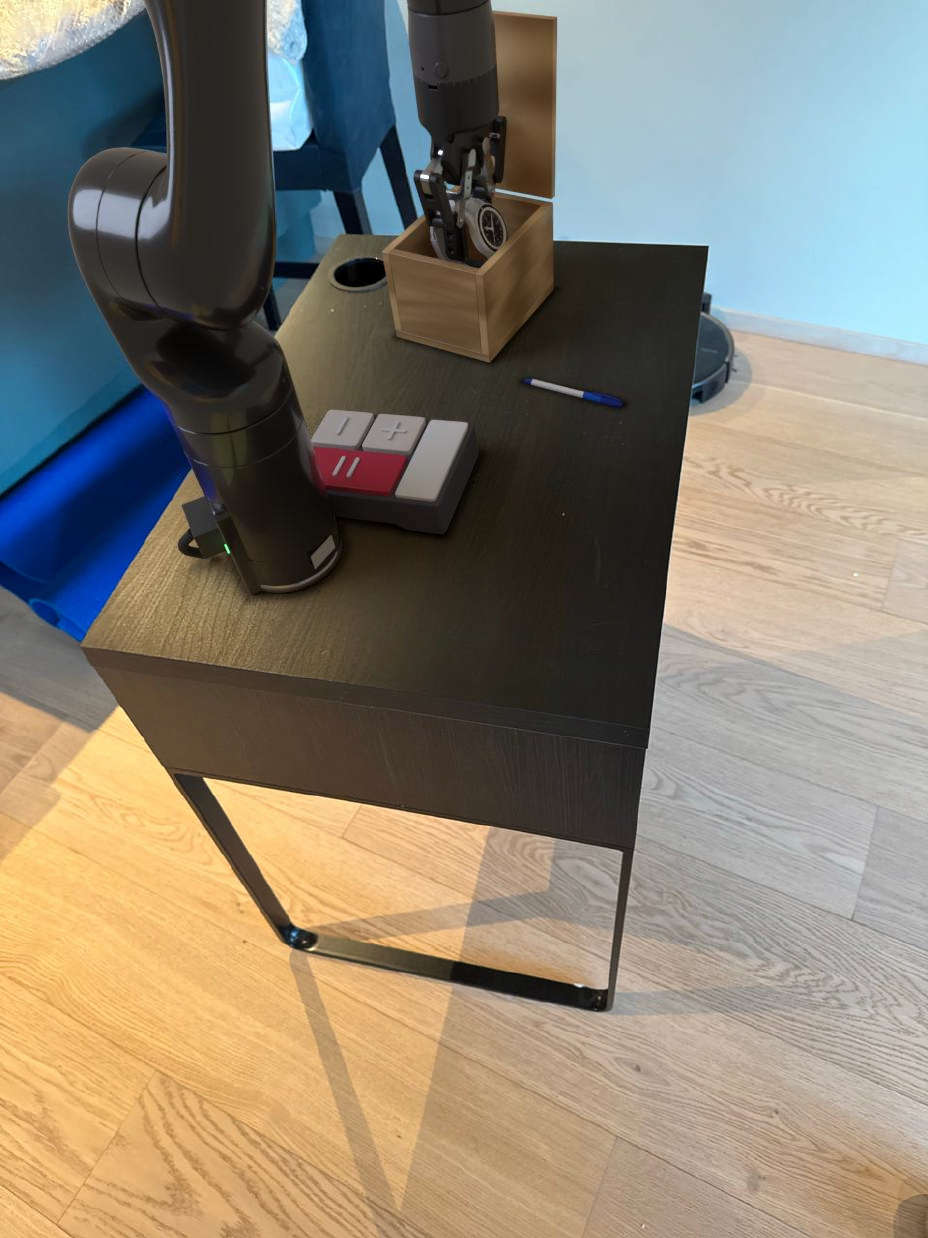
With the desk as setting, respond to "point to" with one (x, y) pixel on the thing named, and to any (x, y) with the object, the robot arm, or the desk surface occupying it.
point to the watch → (476, 231)
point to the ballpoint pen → (578, 393)
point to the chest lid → (527, 100)
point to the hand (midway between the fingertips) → (470, 245)
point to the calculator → (395, 467)
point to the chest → (472, 282)
